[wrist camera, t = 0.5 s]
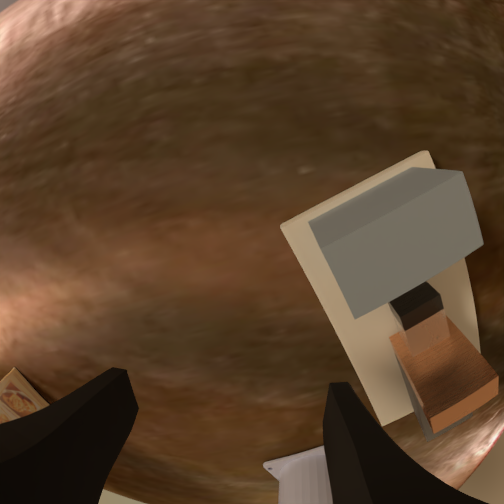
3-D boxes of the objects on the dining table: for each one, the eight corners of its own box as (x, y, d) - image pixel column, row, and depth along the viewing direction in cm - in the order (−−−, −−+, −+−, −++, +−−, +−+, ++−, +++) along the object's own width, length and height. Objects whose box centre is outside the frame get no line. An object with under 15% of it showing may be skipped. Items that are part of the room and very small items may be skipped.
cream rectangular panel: (477, 364, 20) (502, 398, 15) (379, 418, 22) (392, 461, 17) (420, 150, 16) (464, 150, 11) (280, 224, 18) (280, 247, 13)
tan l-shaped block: (455, 385, 19) (492, 448, 11) (413, 408, 20) (441, 478, 12) (428, 269, 16) (497, 330, 9) (374, 300, 17) (420, 379, 10)
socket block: (432, 220, 16) (483, 244, 11) (334, 274, 17) (354, 319, 12) (411, 167, 15) (462, 171, 10) (307, 221, 17) (320, 248, 11)
